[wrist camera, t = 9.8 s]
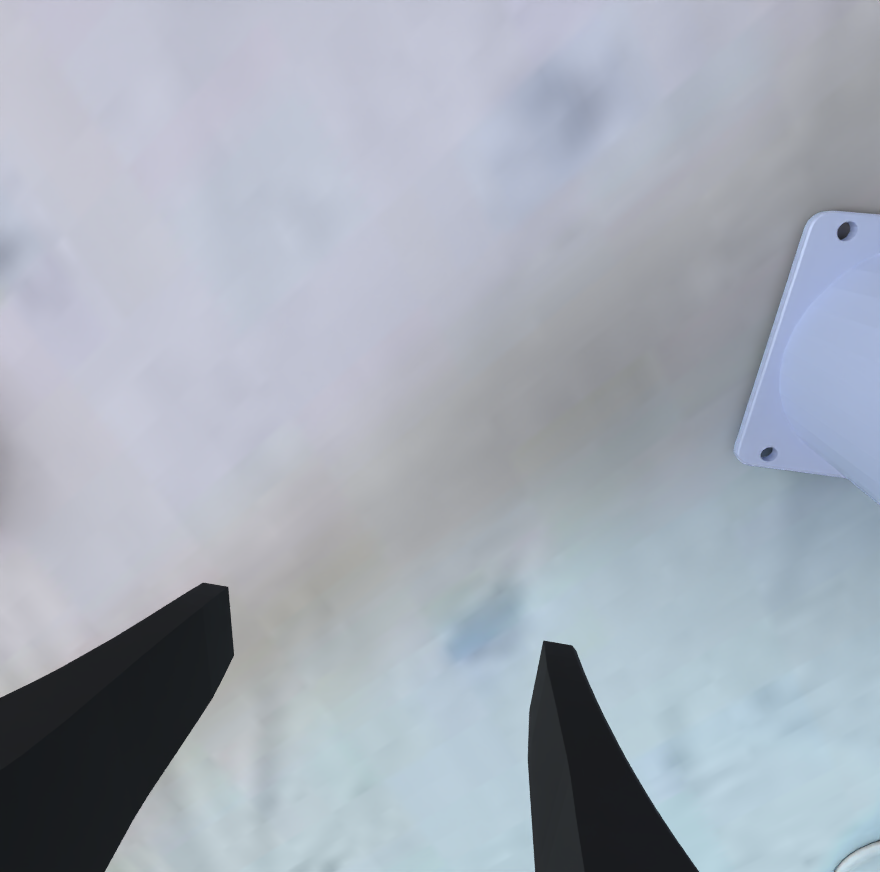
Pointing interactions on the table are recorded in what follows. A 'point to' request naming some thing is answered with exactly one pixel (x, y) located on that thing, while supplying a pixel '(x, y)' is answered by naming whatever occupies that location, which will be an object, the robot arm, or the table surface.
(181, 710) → the robot arm
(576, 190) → the table surface
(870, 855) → the lidded bowl
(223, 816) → the table surface
